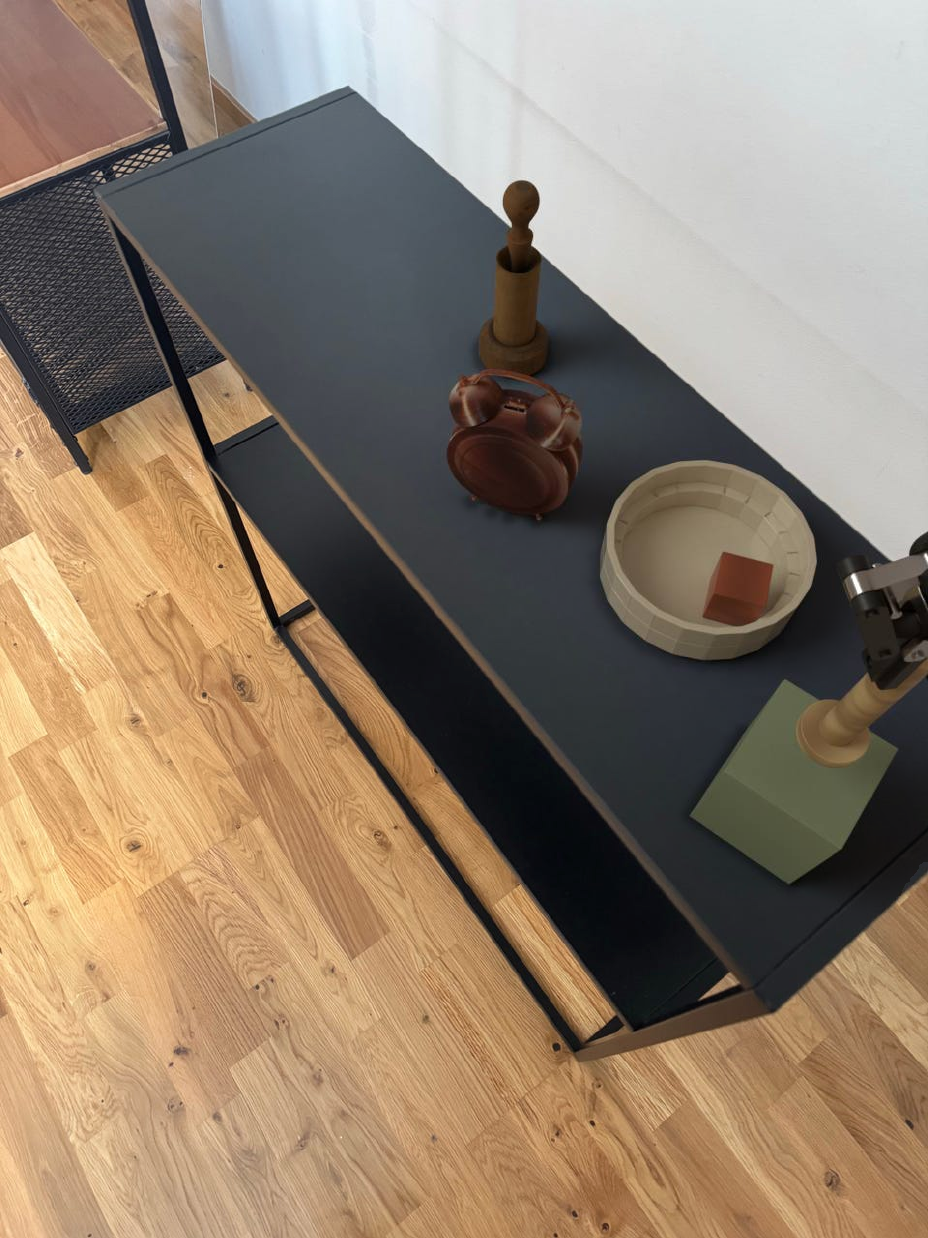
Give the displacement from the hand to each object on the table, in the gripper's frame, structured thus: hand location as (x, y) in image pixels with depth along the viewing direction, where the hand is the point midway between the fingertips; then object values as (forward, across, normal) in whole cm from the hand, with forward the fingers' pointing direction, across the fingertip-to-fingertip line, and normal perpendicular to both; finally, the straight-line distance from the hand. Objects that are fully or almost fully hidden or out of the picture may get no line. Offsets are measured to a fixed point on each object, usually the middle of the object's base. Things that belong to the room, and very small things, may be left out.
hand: (904, 668), depth 44 cm
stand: (+23, 0, 0) cm, 23 cm away
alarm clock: (+24, -14, +30) cm, 41 cm away
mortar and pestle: (+24, -11, +47) cm, 54 cm away
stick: (+10, 0, 0) cm, 10 cm away
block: (+23, +2, +16) cm, 28 cm away
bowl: (+23, 0, +20) cm, 31 cm away
